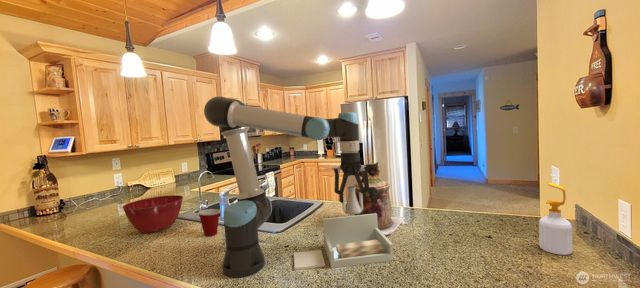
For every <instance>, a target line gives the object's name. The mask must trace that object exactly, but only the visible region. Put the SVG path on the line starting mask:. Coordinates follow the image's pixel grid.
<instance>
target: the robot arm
mask: <svg viewBox="0 0 640 288" xmlns="http://www.w3.org/2000/svg"><path fill="white" fill-rule="evenodd" d="M203 114H204V117H205V119H206V121H207V122H208V123H209V124H210V125H212V126H214V127H218V128H219V131H220V134H221V135H222V136H223V137H225V139H226V143H227V148H228V151H229V156H230V159H231V164H232V169H233V173H234V177H235V181H236V184H237V188H238V189H237V190H238V192H239V193H238V195H237V197H236V200H237V201H235V202H233V203H231V204H229V205H227V206H226V207H225V208H224V210H223V217H222V218H223V226H224V227H223V228H224V237H225V248H226V249H225V254H224V257H223V261H222V273H223V275H225V276H227V277H229V278H244V277H248V276H251V275H254V274H256V273H258V272H259V271H261V270H262V269H263V268H264V267H265V265H266V259H265V258H266V257H265V255H264V253H263V250H262V248H261V245H260V242H259V230H258V229H259V228H261V226H262V225H263V224H264V223H266V222H267V221H268V220H269V218H270V216H271V214H272V211H273V205H272V204H273V203H272V200H271V199H270V197H268V196H267V195H266V191H265V190H264V189H263V188H261V186H260V182H259V178H258V174H257V169H256V165H255V162H254V157H253V154H252V149H251V146H250V140H249V137H248V136H249V135H248V131H249V130H250V129H256V130H262V131H268V132H274V133H278V134H279V133H280V134H284V135H290V136H292V135H293V136H297V137H301V138H302V137H303V138H305V139H306V138H307V139H311V140H313V141H322V140H324V139H329V138H339V150H340V152H341V153H340V165H339V167H334V168H333V172H334V193H335V194H336V195H339V196H338V197H339V203H340V204H342V211H343V213H345V212H346V203H347V201H346V194H345V193H344V192H345V188H346V185H347V181H348V178H349V177H350V176H354V177H355V180H356V183H358V185H359V188H360V191H361V192H359V205H360V207H361V210H363V201H365V193H366V191H369V182H368V174H367V171H368V167H367V166H364V165H362V164H361V157H360V156H361V154H360V152H359V151H360V137H359V134H360V133H359V118H358V114H357V112H355V111H348V112H347V111H346V112H339V113H338V116H337V117H335V118H322V117H318V116H316V117H315V116H309V115H304V114H297V113H291V112H285V111H280V110H279V111H278V110H275V109H274V110H273V109H267V108H262V107H256V106H249V105H247V104H246V103H245V102H243V101H242V100H241V101H240V100H238V99H236V98H229V97H226V96H214V97H212V98H210V99H209V100H208V101H207V102H206V103H205V105H204V107H203ZM360 169H362V171H363V179H364V187H365V188H364V187H363V184H362V182H361V180H362V178H361V177H360V176H359V170H360ZM341 171H342V172H343V175H342V179H341V183H340V172H341ZM339 183H340V184H339ZM339 185H340V187H339Z"/></svg>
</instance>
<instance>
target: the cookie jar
mask: <svg viewBox="0 0 640 288" xmlns="http://www.w3.org/2000/svg"><path fill="white" fill-rule="evenodd" d="M379 163H380V162H379V161H376V162H375V163H366V164H364V165H363V166H367V167H368V171H367V174H368V182H369V191H366V193H365V201H363V210H362V212H361V213H360V214H353V216H355V215H365V214H375V213H376V214H377V222H378V229H379V230H380V231H381V232H382V233H383V234H384V235H385V236H388V235H392V234H393V233H394V232H395V231H396V230H397V229H398V228H399V226H400V225H401V224H402V223H403V222H404V221H405V219H406V218H405V217H404V216H403V217H402V216H400V217H399V216H393V211H392V202H391V197H390V192H389V190H390V187H391V185H390V182H387V181H384V180H381V179H380V178H379V175H380V172H381V171H380V170H379V169H380V167H379ZM358 173H359V176H360V178H361V182H362V184H363V187H364V179H363V171H362V168H361V169H360V170H359V172H358ZM353 187H356V189H355V193H356V197H357V200H358V202H359V192H361V191H360V188H359V185H358V183H357V182H356V183H355V184H354V185H353ZM364 188H365V187H364Z"/></svg>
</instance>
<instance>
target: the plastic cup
mask: <svg viewBox="0 0 640 288" xmlns="http://www.w3.org/2000/svg"><path fill="white" fill-rule="evenodd" d="M221 212H222V210H221V209H217V208H208V209H202V210H199V211H198V212H197V214H198V216H199V220H200V223H201V227H202V230H203V234H204V236H205V237H213V236H216V235H217V233H218V227H219V222H220V220H219V219H220V214H221Z"/></svg>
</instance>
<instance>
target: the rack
mask: <svg viewBox="0 0 640 288" xmlns="http://www.w3.org/2000/svg"><path fill="white" fill-rule="evenodd" d="M354 215H355V214H354ZM354 215H347V216H345V215H344V216H338V217H337V216H335V217H328V218H327V217H326V218H322V231H323V234H322V235H323V246H324V250H325V253H326V256H327V259H328V262H329V265H330V269H335V268H342V267H343V268H344V267H350V266H358V265H367V264H376V263H383V262H385V263H386V262H392V261H394V260H395V258H394V257H395V255H394V254H395V253H394V244H393V242H391V241H390V239H389V238H388V237H387V235H384V234H383V233H382V232H381V231H380V230H379V229H378V222H377V214H376V213H375V214H365V215H355V216H354ZM369 240H378V241H379V242H380V244H381V247H382V248H383V253H382V254H374V255H365V256H357V257H348V258H340V259H338V258H335V253H334V252H335V251H334V249H333V248H336V245H339V244H347V243H354V242H362V241H369Z"/></svg>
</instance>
